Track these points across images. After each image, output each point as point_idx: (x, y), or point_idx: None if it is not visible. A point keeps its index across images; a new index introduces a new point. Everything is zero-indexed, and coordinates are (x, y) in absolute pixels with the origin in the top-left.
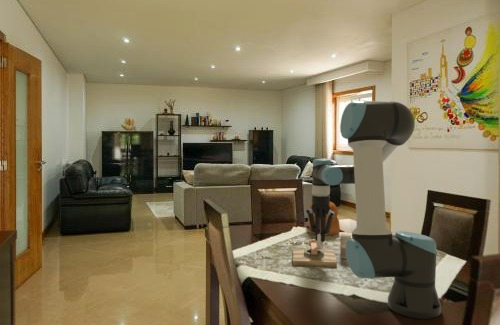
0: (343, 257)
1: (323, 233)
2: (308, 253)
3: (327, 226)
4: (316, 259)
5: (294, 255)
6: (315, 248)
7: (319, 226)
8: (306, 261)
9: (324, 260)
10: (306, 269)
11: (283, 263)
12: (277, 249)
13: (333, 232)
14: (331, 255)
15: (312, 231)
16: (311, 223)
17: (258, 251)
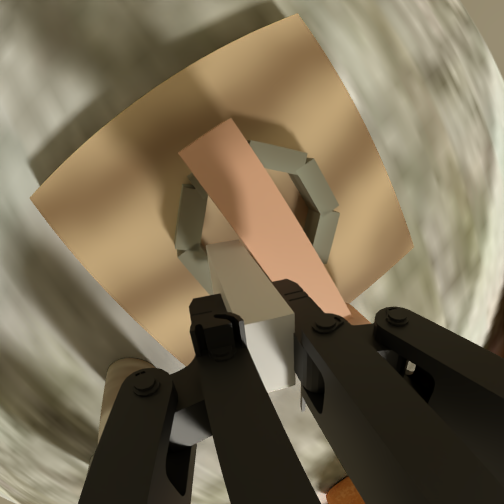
0: (124, 363)
1: (198, 368)
2: (268, 147)
3: (107, 499)
4: (173, 135)
5: (350, 113)
6: (222, 181)
7: (342, 447)
8: (213, 52)
9: (111, 162)
10: (168, 9)
11: (341, 26)
12: (458, 225)
13: (339, 489)
14: (151, 306)
15: (388, 309)
16: (492, 376)
17: (487, 145)
